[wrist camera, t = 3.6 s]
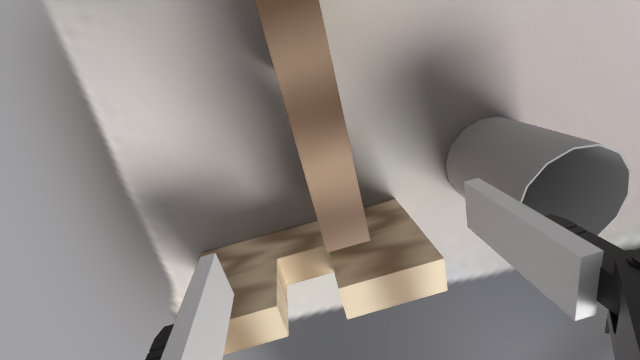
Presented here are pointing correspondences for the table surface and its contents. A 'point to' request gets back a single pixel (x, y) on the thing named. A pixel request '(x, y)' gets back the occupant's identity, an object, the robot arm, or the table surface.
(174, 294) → the table surface
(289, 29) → the walnut plate
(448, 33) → the table surface
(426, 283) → the notched wooden slab
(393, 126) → the table surface
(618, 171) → the cup
